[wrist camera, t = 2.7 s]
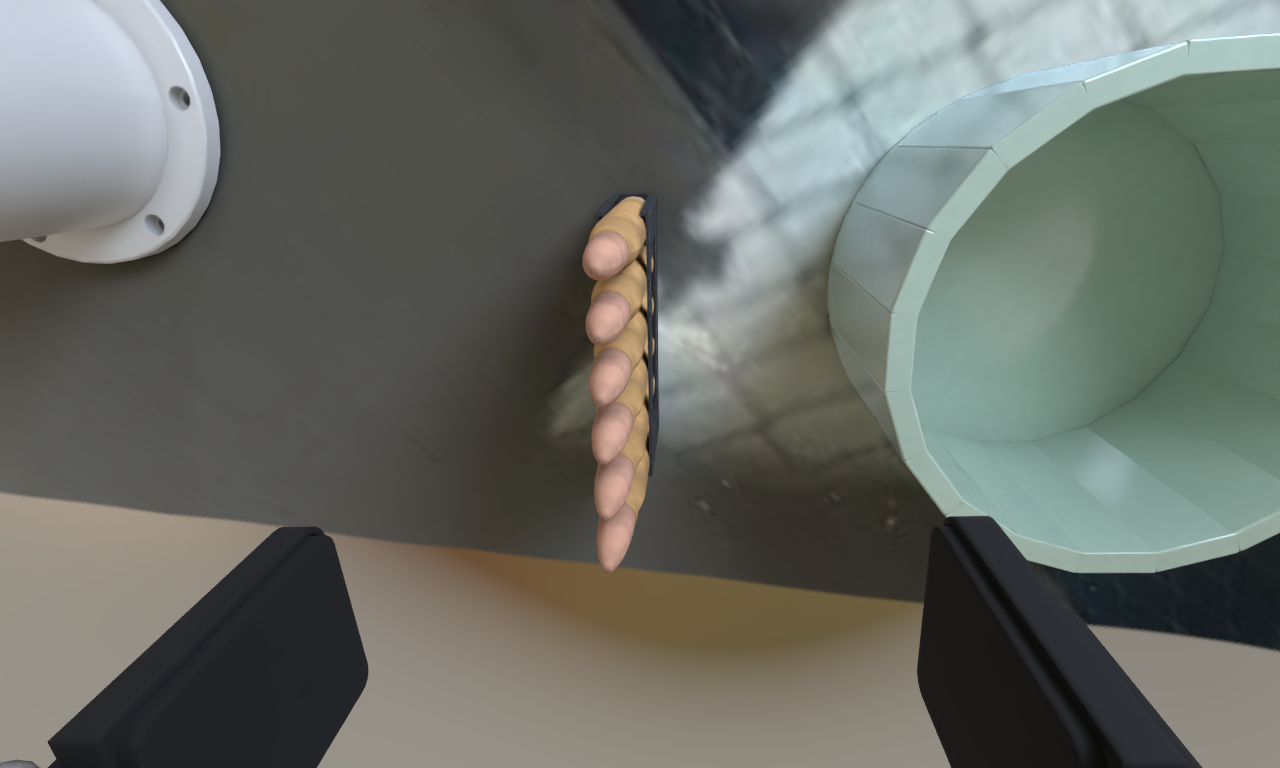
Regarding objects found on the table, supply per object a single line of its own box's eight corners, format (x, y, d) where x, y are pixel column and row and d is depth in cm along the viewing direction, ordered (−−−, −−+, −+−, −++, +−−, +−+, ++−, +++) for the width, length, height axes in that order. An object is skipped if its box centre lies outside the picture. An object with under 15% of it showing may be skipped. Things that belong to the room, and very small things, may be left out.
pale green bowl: (819, 452, 30) (869, 573, 22) (835, 87, 25) (910, 59, 16) (1177, 446, 29) (1378, 572, 20) (1278, 56, 23) (1612, 8, 15)
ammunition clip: (612, 193, 27) (554, 231, 15) (656, 193, 26) (630, 230, 15) (619, 428, 30) (577, 596, 19) (658, 429, 30) (639, 598, 19)
